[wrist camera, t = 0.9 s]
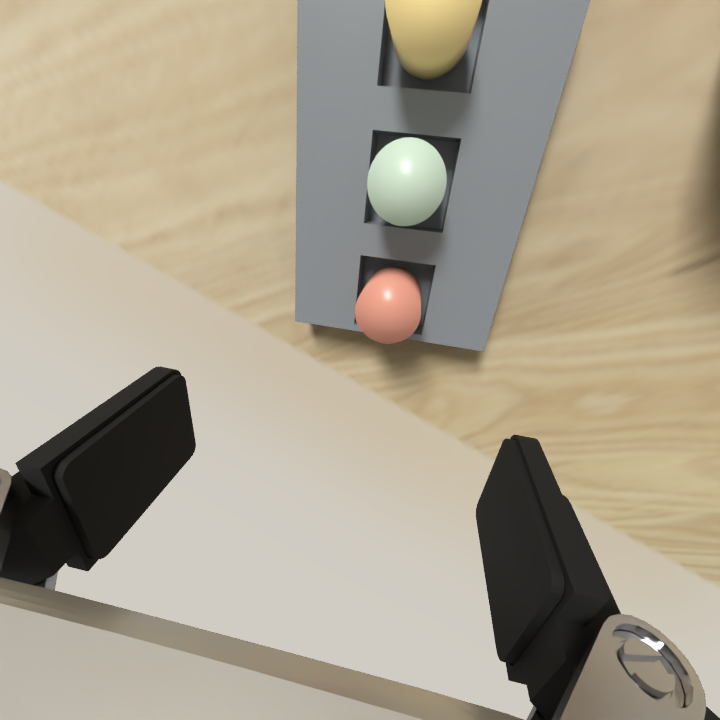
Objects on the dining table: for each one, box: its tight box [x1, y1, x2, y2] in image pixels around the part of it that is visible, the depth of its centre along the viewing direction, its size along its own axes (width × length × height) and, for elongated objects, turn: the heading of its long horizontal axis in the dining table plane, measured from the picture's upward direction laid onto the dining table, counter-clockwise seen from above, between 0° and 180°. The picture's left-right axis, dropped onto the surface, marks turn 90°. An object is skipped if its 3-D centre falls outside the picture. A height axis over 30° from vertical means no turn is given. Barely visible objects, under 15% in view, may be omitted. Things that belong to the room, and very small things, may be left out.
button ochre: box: [385, 0, 482, 80], centre depth 16 cm, size 4×4×4 cm
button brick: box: [355, 266, 422, 344], centre depth 22 cm, size 4×4×4 cm
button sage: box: [367, 137, 447, 226], centre depth 19 cm, size 4×4×4 cm
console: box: [295, 0, 590, 351], centre depth 22 cm, size 14×20×3 cm
